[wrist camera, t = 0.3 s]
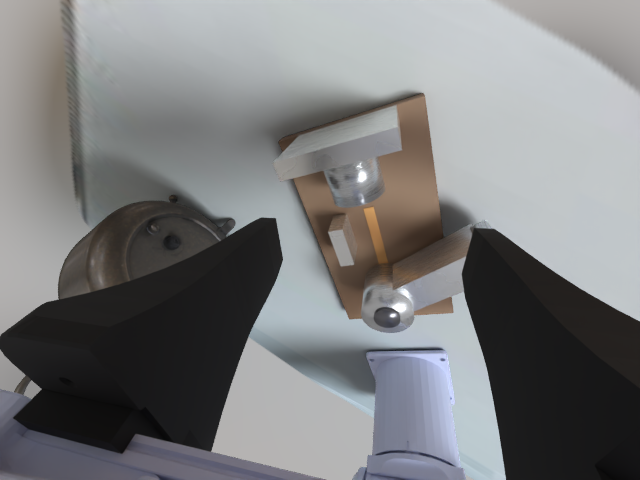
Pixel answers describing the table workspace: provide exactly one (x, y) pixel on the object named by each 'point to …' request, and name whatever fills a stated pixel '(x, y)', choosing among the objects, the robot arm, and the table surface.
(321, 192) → the board
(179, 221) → the alarm clock
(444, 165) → the table surface
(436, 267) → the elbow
